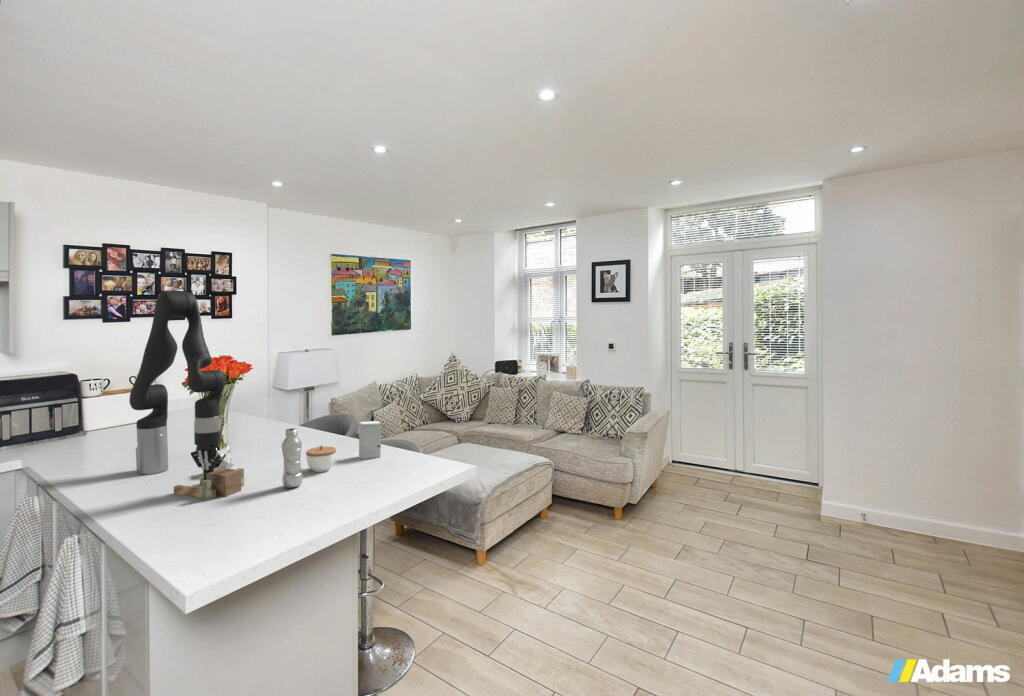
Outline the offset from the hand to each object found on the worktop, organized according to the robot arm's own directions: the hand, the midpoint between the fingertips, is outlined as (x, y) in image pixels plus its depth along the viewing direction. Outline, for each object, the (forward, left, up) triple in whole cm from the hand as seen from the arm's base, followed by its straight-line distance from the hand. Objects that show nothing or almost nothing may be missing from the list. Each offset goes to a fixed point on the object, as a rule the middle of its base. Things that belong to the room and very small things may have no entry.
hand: (208, 480), depth 159 cm
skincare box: (+29, +51, -4) cm, 59 cm away
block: (+7, 0, -4) cm, 7 cm away
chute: (-1, 0, -4) cm, 4 cm away
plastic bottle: (+24, +11, -4) cm, 27 cm away
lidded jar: (+21, +30, -4) cm, 37 cm away
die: (-13, +16, -4) cm, 21 cm away
